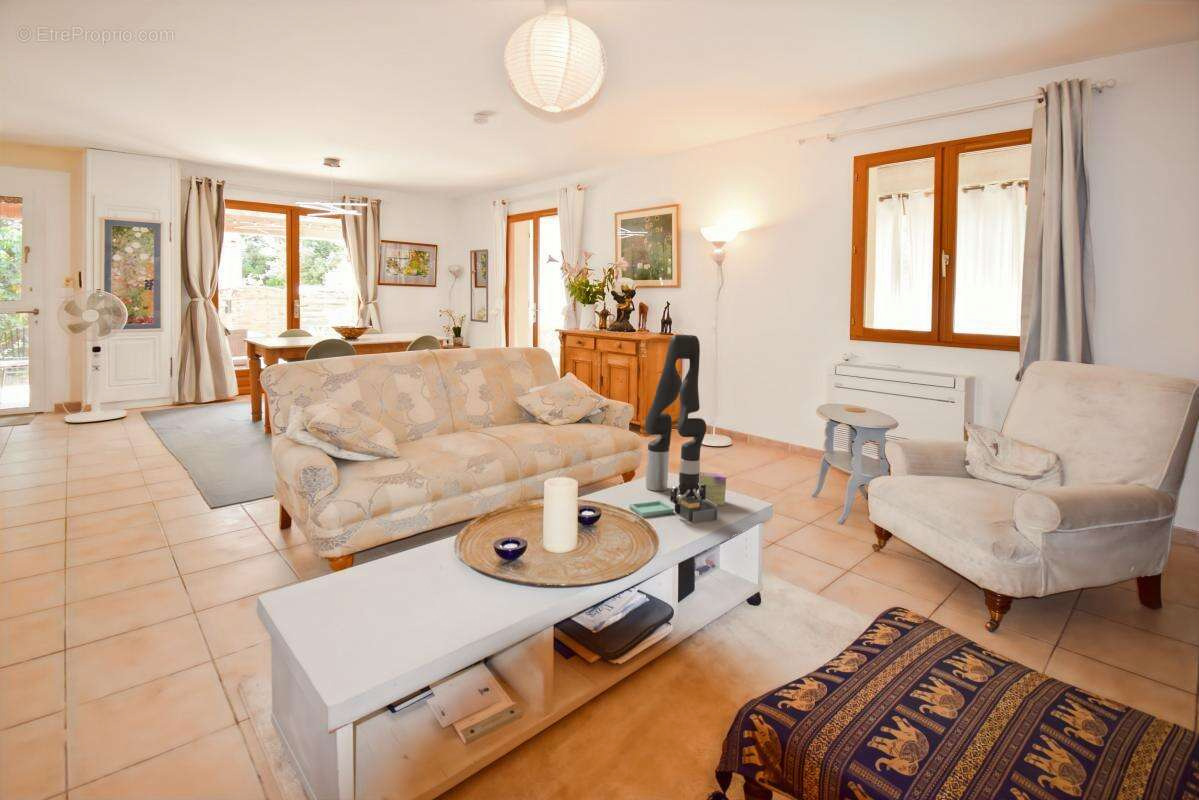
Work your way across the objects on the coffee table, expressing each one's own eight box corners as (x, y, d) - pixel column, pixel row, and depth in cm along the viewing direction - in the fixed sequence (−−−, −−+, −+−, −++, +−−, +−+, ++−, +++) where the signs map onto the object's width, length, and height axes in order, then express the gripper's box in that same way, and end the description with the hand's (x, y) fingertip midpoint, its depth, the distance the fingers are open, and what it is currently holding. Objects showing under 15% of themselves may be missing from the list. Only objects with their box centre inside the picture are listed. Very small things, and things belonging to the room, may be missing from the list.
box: (723, 500, 245) (725, 473, 243) (724, 505, 239) (726, 477, 237) (697, 499, 246) (699, 471, 244) (698, 503, 240) (700, 475, 238)
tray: (629, 508, 232) (629, 504, 232) (659, 504, 238) (659, 500, 237) (642, 517, 223) (642, 512, 222) (673, 513, 228) (673, 508, 228)
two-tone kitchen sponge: (675, 513, 228) (676, 494, 227) (685, 512, 230) (686, 493, 229) (688, 521, 220) (689, 502, 219) (698, 519, 222) (699, 500, 221)
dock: (674, 510, 231) (675, 496, 230) (696, 508, 235) (697, 494, 234) (694, 523, 219) (694, 507, 218) (716, 519, 223) (717, 505, 222)
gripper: (700, 466, 229) (697, 506, 231) (668, 469, 223) (666, 510, 225) (711, 471, 222) (708, 513, 224) (678, 474, 216) (676, 517, 219)
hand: (687, 511), depth 225 cm, fingers open, 8 cm apart
